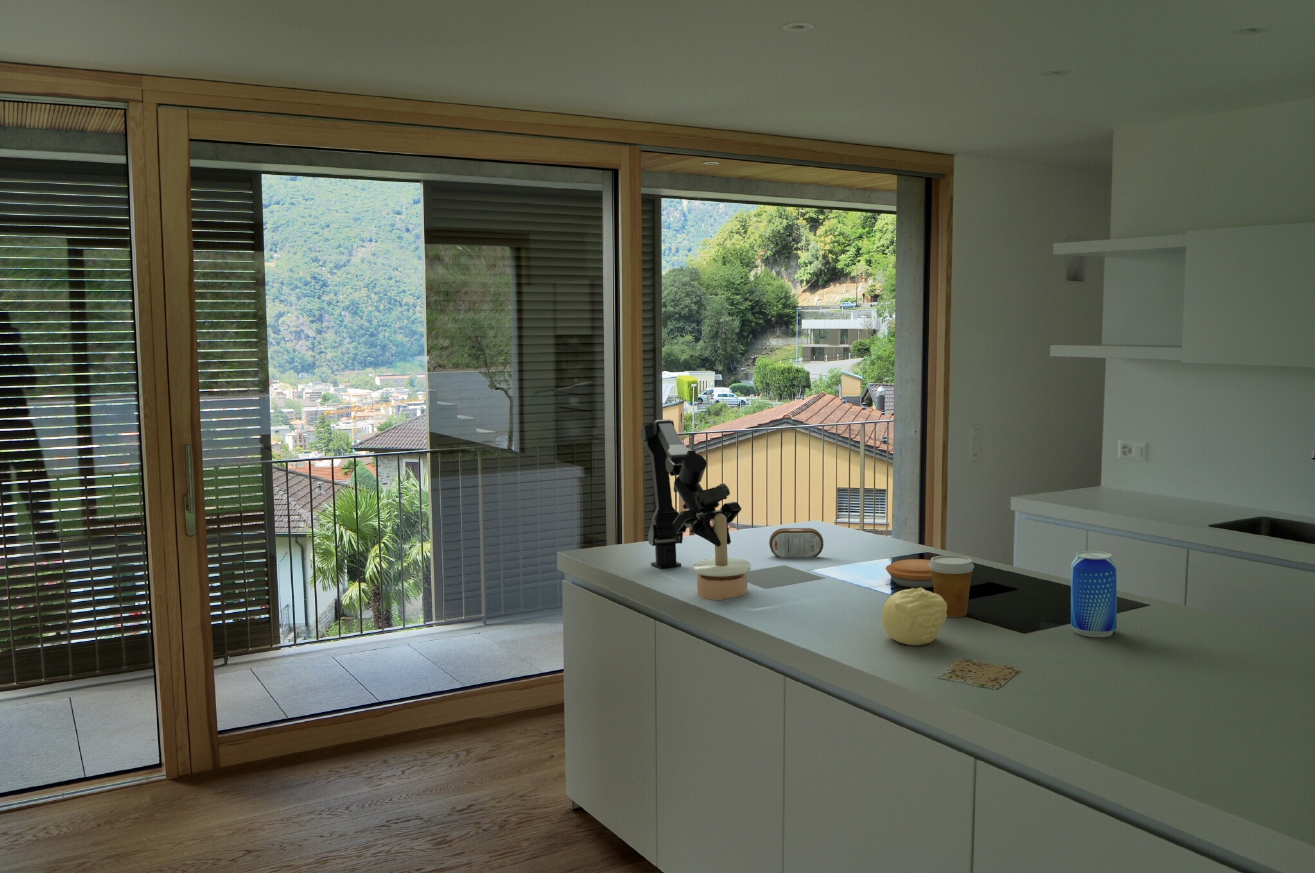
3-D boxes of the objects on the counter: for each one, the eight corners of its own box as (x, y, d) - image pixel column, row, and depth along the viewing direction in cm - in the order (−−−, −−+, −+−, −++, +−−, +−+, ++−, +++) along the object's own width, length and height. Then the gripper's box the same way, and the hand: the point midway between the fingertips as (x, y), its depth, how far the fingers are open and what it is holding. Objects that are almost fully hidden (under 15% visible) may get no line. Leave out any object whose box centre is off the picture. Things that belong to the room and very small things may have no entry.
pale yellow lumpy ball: (911, 653, 190) (911, 598, 189) (871, 638, 200) (870, 586, 199) (956, 643, 195) (955, 590, 194) (914, 628, 206) (913, 578, 205)
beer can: (1114, 627, 201) (1114, 550, 200) (1118, 639, 193) (1119, 559, 192) (1069, 625, 204) (1069, 549, 202) (1072, 637, 196) (1072, 558, 195)
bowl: (689, 591, 243) (688, 574, 242) (730, 584, 248) (729, 567, 248) (713, 602, 232) (713, 583, 232) (756, 594, 238) (756, 576, 237)
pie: (881, 588, 240) (880, 568, 239) (891, 573, 254) (890, 554, 253) (947, 592, 234) (946, 571, 233) (953, 577, 248) (953, 557, 248)
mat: (727, 576, 257) (727, 574, 257) (784, 566, 265) (784, 565, 265) (765, 590, 241) (765, 588, 241) (825, 580, 249) (825, 578, 249)
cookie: (957, 660, 186) (957, 655, 186) (1022, 672, 178) (1022, 667, 178) (930, 679, 177) (930, 673, 177) (997, 692, 169) (997, 686, 169)
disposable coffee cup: (977, 609, 218) (976, 556, 217) (971, 621, 209) (970, 565, 208) (933, 606, 222) (932, 553, 221) (925, 617, 213) (925, 563, 212)
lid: (682, 567, 243) (680, 513, 241) (731, 560, 249) (729, 506, 248) (711, 579, 230) (709, 521, 229) (761, 570, 237) (760, 514, 235)
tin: (823, 556, 276) (822, 527, 276) (824, 559, 273) (823, 529, 272) (769, 557, 278) (768, 528, 277) (769, 559, 275) (769, 530, 274)
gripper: (678, 478, 234) (711, 530, 227) (735, 469, 246) (768, 518, 239) (658, 507, 241) (690, 558, 234) (714, 497, 253) (746, 545, 246)
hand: (724, 544), depth 238 cm, fingers closed on lid, 3 cm apart
